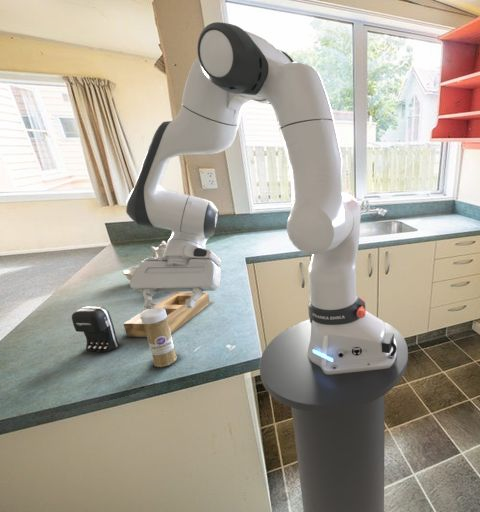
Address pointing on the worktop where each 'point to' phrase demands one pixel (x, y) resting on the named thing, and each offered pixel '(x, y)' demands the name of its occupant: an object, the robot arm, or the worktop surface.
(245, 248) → the worktop surface
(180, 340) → the worktop surface
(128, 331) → the socket block
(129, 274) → the chinaware
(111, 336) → the battery charger
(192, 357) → the worktop surface
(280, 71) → the robot arm
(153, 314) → the sprinkles bottle
